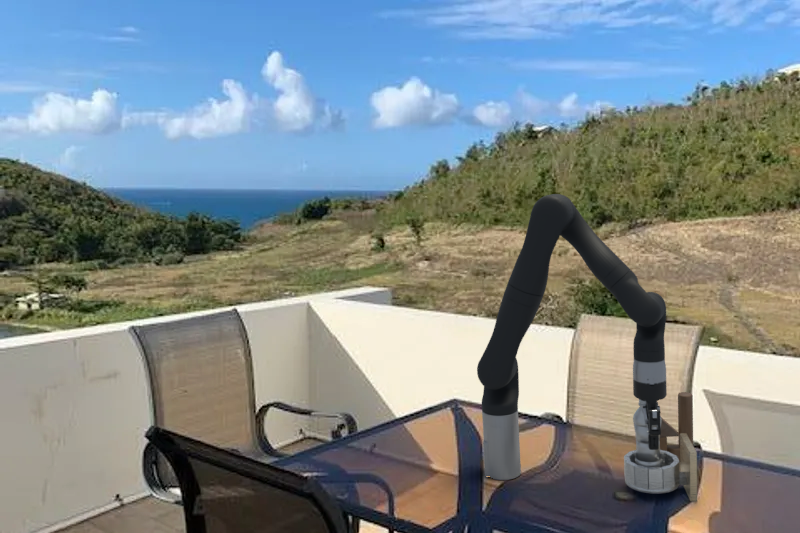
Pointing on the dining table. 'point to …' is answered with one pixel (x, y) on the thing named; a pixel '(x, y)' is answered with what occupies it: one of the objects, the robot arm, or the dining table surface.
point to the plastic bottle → (645, 441)
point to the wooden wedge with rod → (683, 424)
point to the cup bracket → (665, 471)
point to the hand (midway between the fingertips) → (650, 442)
